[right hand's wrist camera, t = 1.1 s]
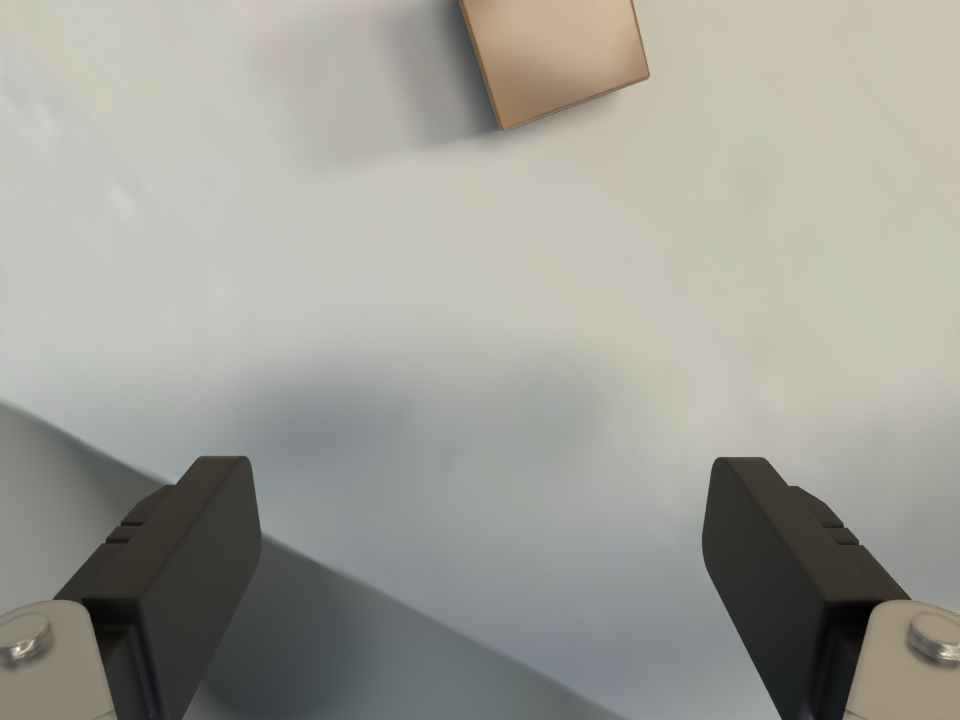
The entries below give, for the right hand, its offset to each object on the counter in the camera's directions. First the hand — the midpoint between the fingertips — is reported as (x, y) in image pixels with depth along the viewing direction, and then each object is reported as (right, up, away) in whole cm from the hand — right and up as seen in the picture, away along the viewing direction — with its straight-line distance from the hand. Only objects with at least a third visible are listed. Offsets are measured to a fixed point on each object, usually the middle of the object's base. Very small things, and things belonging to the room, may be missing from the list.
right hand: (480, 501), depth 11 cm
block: (+2, +13, +10) cm, 16 cm away
